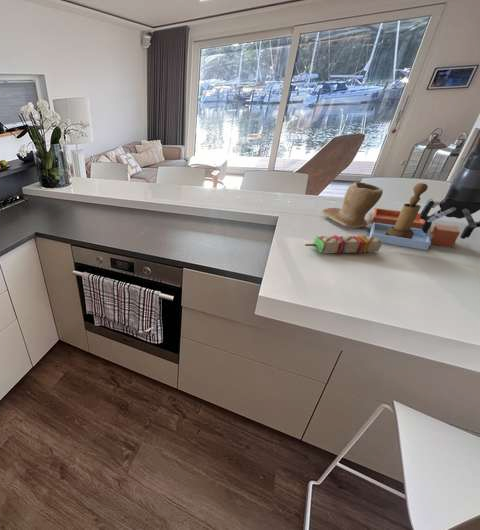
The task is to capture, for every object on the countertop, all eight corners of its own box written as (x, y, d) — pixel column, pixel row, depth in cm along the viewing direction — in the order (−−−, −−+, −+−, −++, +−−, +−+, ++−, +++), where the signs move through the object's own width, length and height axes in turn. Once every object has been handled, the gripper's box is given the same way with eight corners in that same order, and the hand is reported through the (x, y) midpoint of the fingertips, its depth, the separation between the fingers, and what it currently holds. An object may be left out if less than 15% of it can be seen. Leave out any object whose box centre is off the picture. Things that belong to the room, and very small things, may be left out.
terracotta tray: (421, 220, 107) (424, 213, 106) (423, 231, 100) (426, 224, 98) (372, 214, 115) (375, 208, 114) (371, 223, 108) (373, 217, 106)
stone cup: (377, 229, 104) (394, 187, 96) (343, 230, 104) (357, 190, 97) (349, 214, 117) (362, 177, 109) (319, 216, 117) (330, 179, 110)
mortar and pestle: (380, 235, 98) (402, 182, 89) (393, 231, 100) (416, 179, 90) (402, 243, 92) (429, 187, 83) (415, 238, 94) (443, 184, 85)
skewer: (366, 246, 94) (372, 232, 91) (380, 255, 88) (386, 240, 86) (299, 247, 96) (302, 233, 94) (307, 256, 91) (311, 242, 88)
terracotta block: (449, 241, 93) (457, 226, 90) (451, 247, 89) (460, 232, 87) (428, 237, 95) (435, 223, 93) (429, 243, 92) (437, 229, 90)
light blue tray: (424, 237, 96) (428, 230, 95) (427, 250, 89) (431, 242, 87) (370, 228, 104) (373, 222, 103) (369, 240, 97) (371, 233, 95)
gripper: (438, 184, 84) (413, 234, 93) (513, 190, 76) (478, 244, 85) (435, 178, 89) (412, 226, 97) (505, 183, 81) (473, 235, 89)
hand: (443, 234), depth 91 cm, fingers open, 8 cm apart
